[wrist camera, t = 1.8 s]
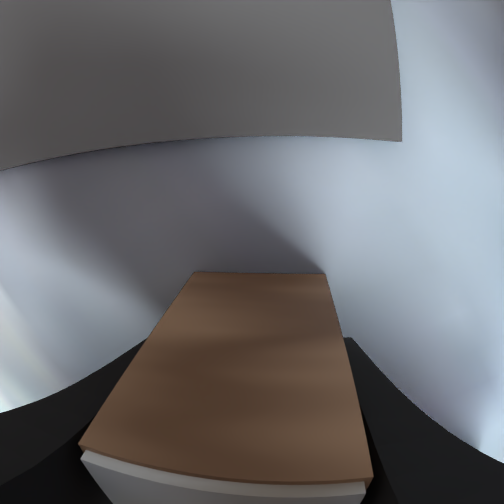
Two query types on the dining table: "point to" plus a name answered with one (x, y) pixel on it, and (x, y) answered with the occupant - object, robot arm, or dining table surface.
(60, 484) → the robot arm
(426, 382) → the dining table surface
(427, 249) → the dining table surface
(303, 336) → the walnut block
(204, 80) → the rubber mat
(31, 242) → the dining table surface
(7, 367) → the dining table surface
